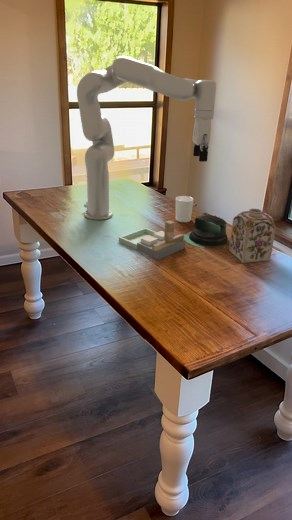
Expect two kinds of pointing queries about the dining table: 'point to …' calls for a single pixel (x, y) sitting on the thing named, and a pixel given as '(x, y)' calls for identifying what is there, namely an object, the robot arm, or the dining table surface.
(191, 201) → the white cup
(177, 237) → the tan bar
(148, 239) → the tile
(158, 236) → the tile
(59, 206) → the dining table surface
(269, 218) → the decorative jar
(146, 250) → the board
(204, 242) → the dark round cap
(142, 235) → the tray
